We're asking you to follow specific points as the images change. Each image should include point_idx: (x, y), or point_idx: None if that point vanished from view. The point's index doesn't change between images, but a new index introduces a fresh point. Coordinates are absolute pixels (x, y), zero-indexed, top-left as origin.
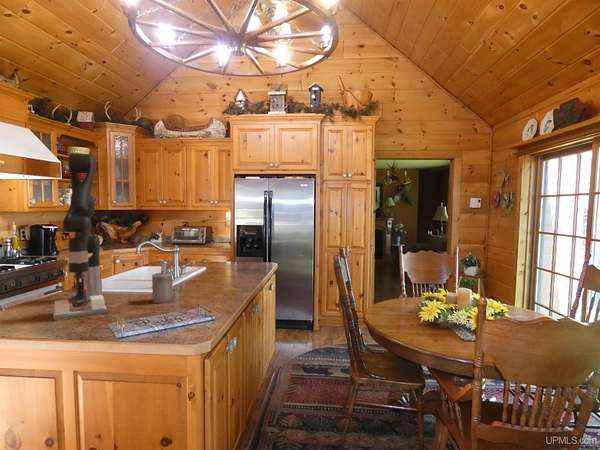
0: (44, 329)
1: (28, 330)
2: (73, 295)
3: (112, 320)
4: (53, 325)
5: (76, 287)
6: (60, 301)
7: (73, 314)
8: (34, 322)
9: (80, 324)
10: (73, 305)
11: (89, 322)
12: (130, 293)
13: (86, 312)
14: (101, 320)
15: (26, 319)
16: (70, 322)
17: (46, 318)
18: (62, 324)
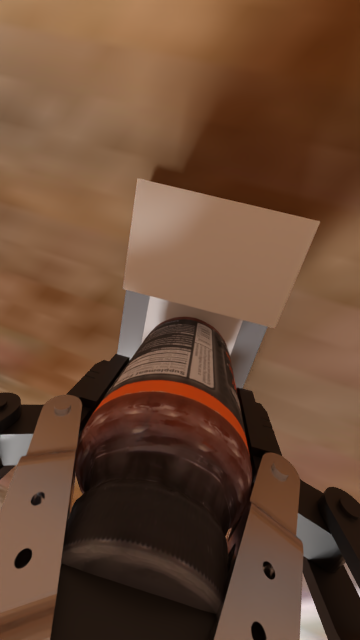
0: (24, 105)
1: (55, 5)
2: (146, 356)
3: (4, 376)
4: (71, 168)
5: (87, 444)
6: (244, 257)
7: (135, 292)
8: (215, 79)
9: (15, 275)
10: (170, 320)
11: (24, 311)
12: (349, 573)
13: (127, 347)
14: (26, 352)
15: (349, 36)
16: (73, 252)
17: (248, 171)
18: (62, 212)
